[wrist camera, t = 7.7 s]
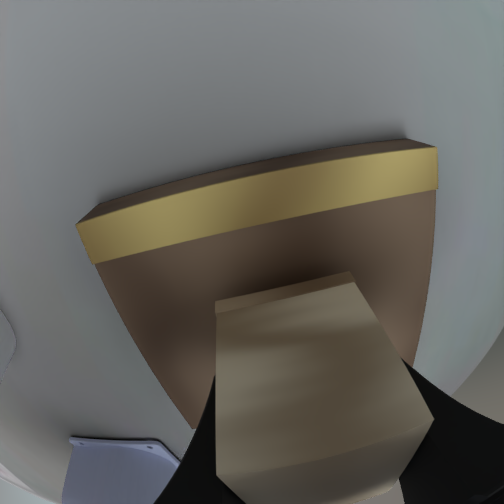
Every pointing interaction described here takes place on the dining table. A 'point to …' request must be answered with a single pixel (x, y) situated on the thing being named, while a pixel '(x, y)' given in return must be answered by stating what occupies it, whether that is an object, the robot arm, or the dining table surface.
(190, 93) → the dining table surface
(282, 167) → the dock
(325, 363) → the beige block
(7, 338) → the shot glass
